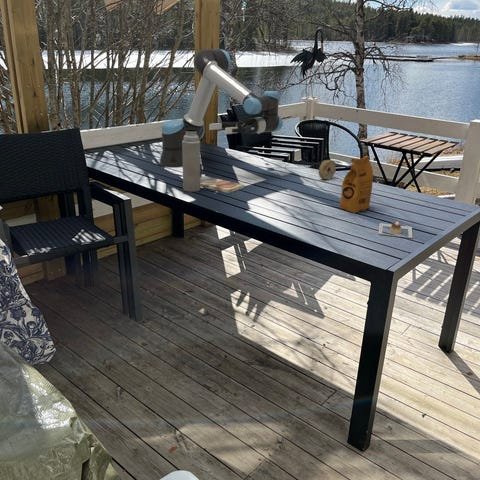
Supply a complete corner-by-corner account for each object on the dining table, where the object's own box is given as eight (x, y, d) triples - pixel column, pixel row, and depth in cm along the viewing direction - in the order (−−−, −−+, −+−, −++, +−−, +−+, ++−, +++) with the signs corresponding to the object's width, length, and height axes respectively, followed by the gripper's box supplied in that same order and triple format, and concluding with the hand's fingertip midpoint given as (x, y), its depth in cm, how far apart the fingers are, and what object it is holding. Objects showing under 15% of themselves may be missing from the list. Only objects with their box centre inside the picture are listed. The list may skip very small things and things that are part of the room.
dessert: (379, 225, 192) (380, 214, 190) (411, 229, 189) (413, 217, 187) (378, 236, 182) (379, 224, 180) (412, 240, 179) (414, 228, 177)
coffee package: (335, 208, 210) (341, 156, 201) (353, 202, 217) (359, 153, 209) (354, 214, 203) (361, 161, 194) (372, 208, 210) (379, 157, 202)
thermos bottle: (188, 185, 235) (187, 126, 224) (203, 188, 232) (203, 128, 221) (179, 190, 228) (178, 128, 218) (194, 192, 225) (194, 130, 215)
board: (188, 183, 238) (188, 180, 238) (204, 178, 248) (204, 175, 247) (228, 193, 226) (228, 189, 225) (243, 187, 235) (243, 183, 234)
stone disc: (330, 176, 258) (332, 157, 254) (335, 178, 255) (337, 159, 252) (316, 179, 252) (318, 160, 248) (321, 181, 249) (323, 161, 246)
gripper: (269, 137, 233) (232, 141, 221) (239, 129, 251) (203, 133, 240) (270, 120, 230) (232, 124, 218) (239, 114, 249) (203, 117, 237)
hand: (217, 128), depth 229 cm, fingers open, 13 cm apart
